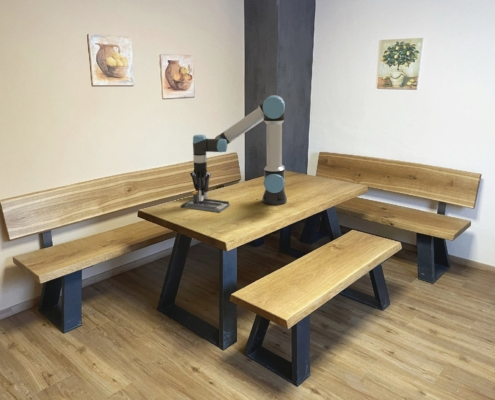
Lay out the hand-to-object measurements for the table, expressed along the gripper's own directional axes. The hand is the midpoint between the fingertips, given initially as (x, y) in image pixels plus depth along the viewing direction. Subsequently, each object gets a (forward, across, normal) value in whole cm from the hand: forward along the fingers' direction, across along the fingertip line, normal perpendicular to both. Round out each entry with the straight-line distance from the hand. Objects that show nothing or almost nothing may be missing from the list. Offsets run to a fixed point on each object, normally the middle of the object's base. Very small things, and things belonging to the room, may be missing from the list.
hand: (201, 200), depth 249 cm
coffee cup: (+4, +8, -17) cm, 19 cm away
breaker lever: (+2, +4, 0) cm, 4 cm away
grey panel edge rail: (+4, +9, 0) cm, 10 cm away
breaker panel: (+4, -2, 0) cm, 4 cm away
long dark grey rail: (+4, -2, -9) cm, 10 cm away
